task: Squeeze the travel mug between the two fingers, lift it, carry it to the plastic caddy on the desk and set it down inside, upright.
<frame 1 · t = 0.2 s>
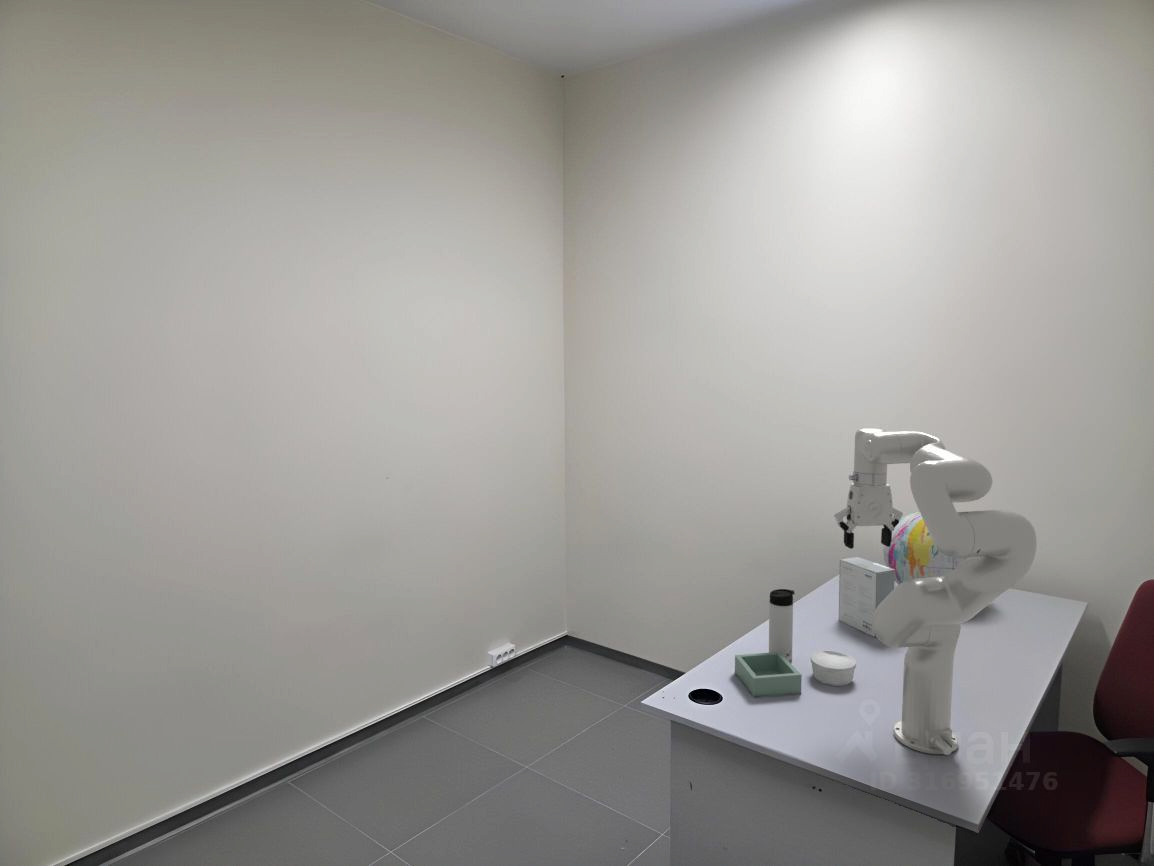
hand: (867, 546, 172), 37 cm above the table, tool pointing down, fingers open, 9 cm apart
travel mug: (780, 660, 192), on the table
ramekin: (832, 679, 181), on the table
hard drive box: (864, 627, 214), on the table
caddy: (766, 683, 179), on the table
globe: (929, 597, 238), on the table
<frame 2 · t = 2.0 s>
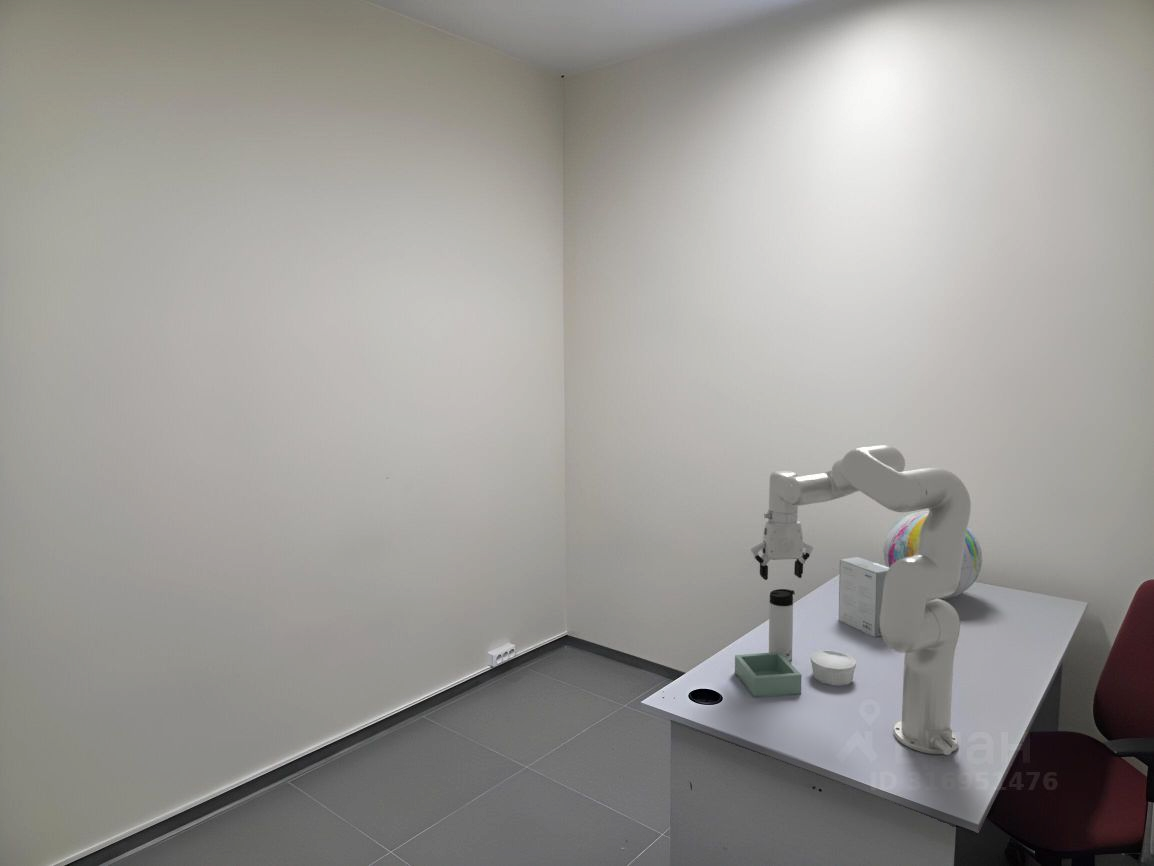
hand: (781, 577, 189), 24 cm above the table, tool pointing down, fingers open, 9 cm apart
nothing on the table moved.
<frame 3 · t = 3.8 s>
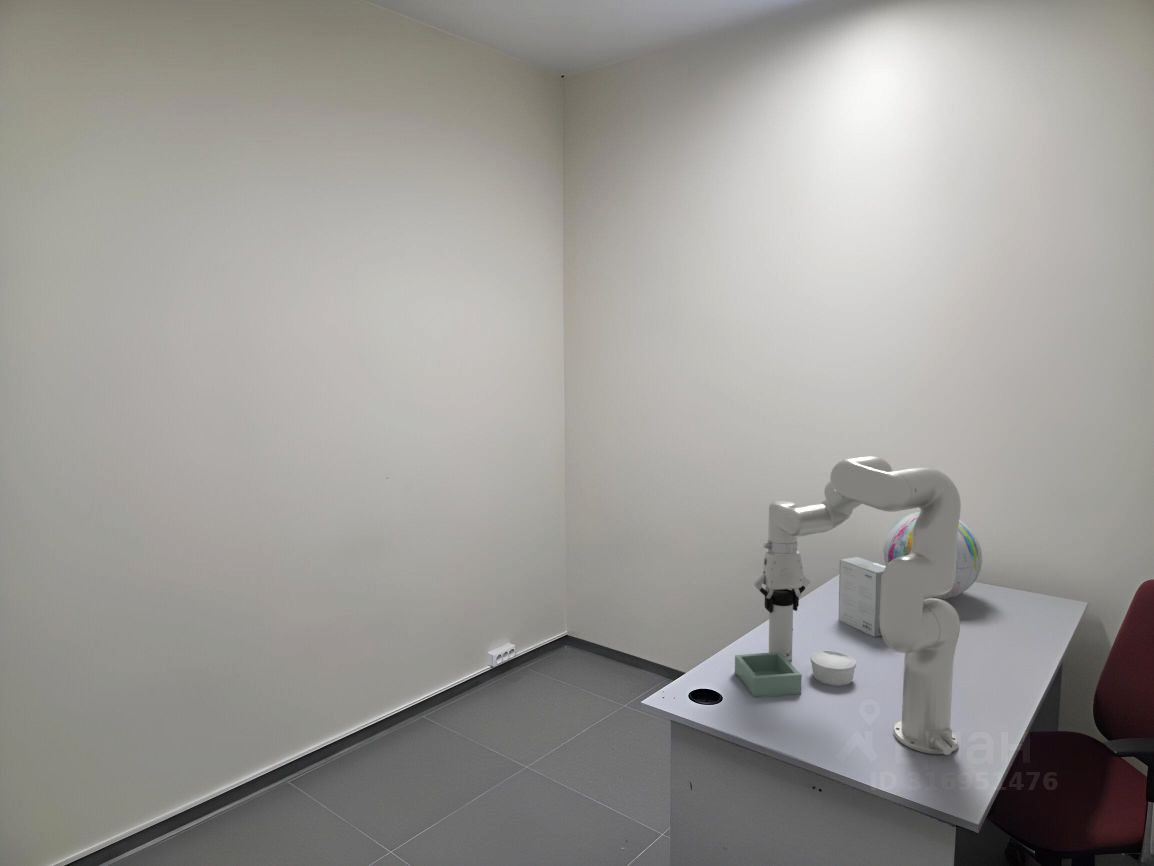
hand: (781, 609, 190), 15 cm above the table, tool pointing down, fingers closed on travel mug, 6 cm apart
travel mug: (780, 660, 192), on the table, touching gripper
everything else where it was.
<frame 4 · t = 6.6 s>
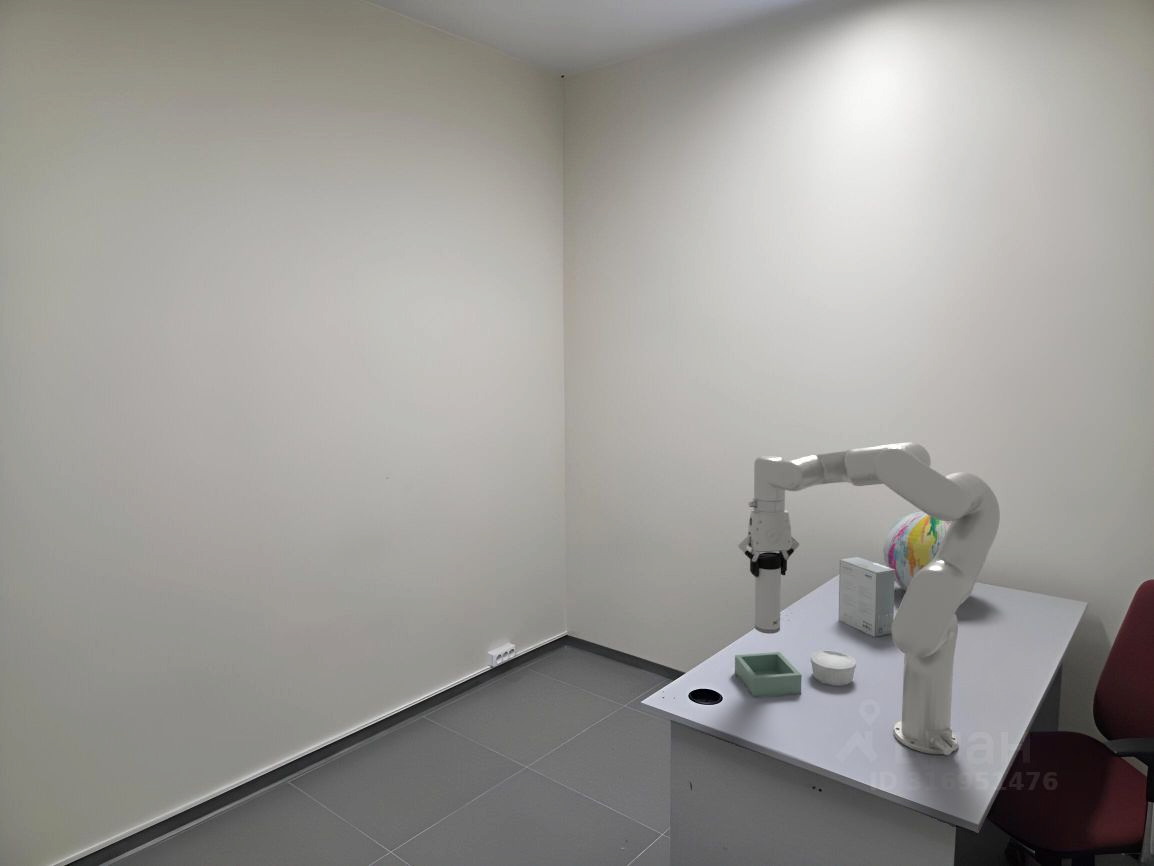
hand: (768, 573, 175), 29 cm above the table, tool pointing down, fingers closed on travel mug, 6 cm apart
travel mug: (768, 629, 177), point 14 cm above the table, touching gripper
everything else where it was.
when the fingers open (17 cm above the table, at t = 9.5 s): travel mug drops 2 cm, resting on caddy.
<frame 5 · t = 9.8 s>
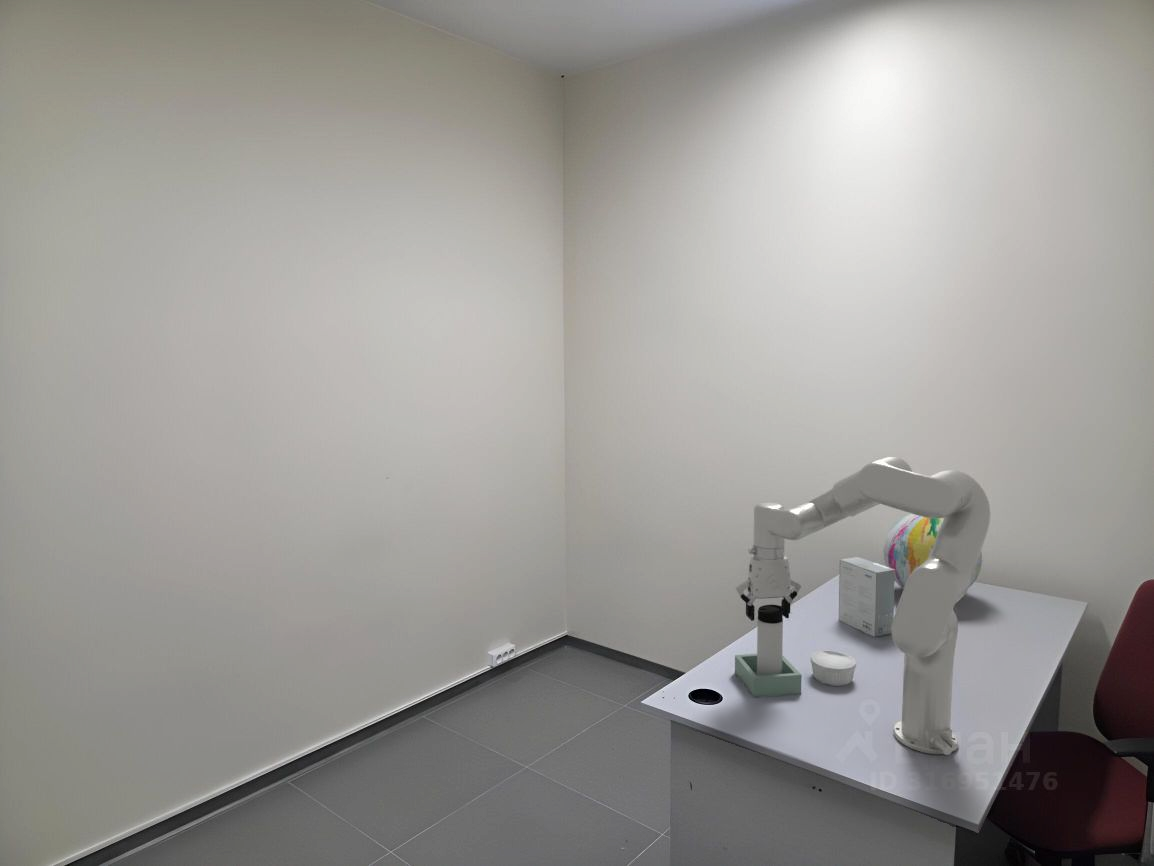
hand: (767, 617, 177), 18 cm above the table, tool pointing down, fingers open, 8 cm apart
travel mug: (769, 681, 179), resting on caddy
everything else where it was.
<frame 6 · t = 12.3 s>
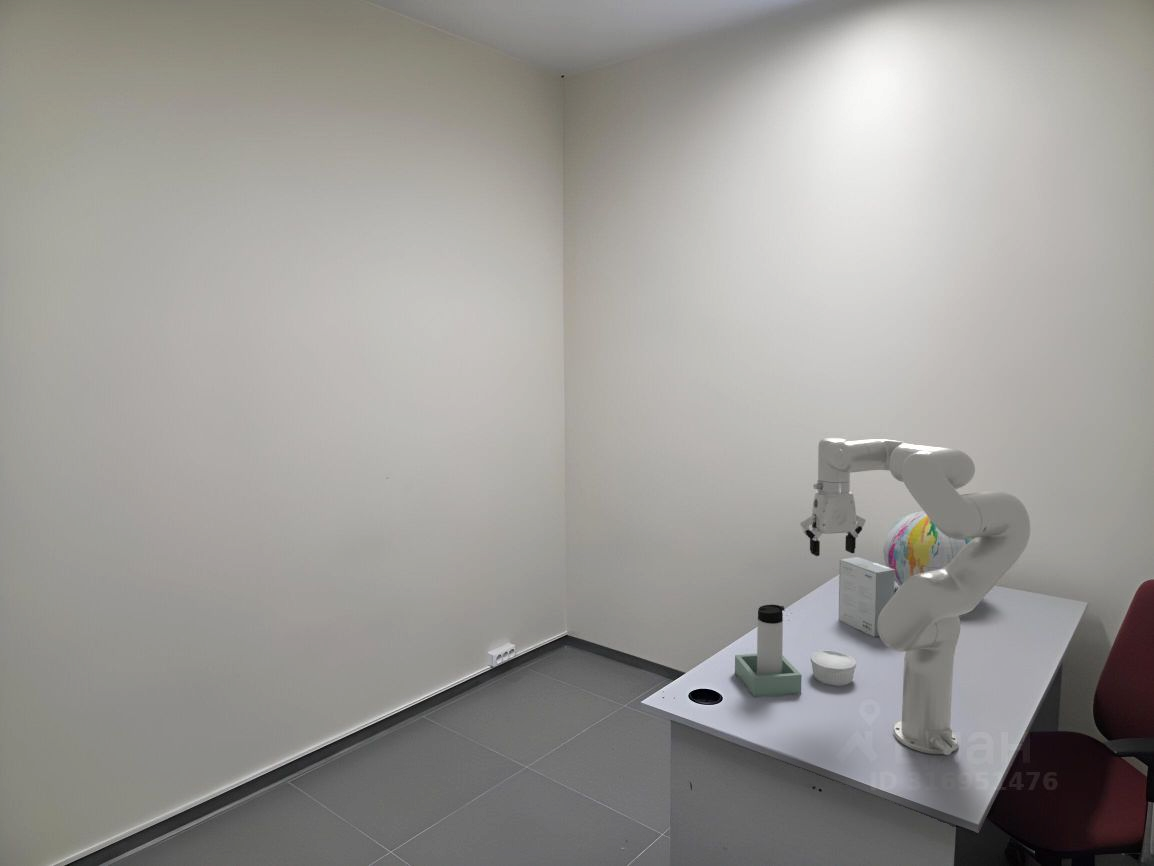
hand: (832, 553, 176), 34 cm above the table, tool pointing down, fingers open, 9 cm apart
nothing on the table moved.
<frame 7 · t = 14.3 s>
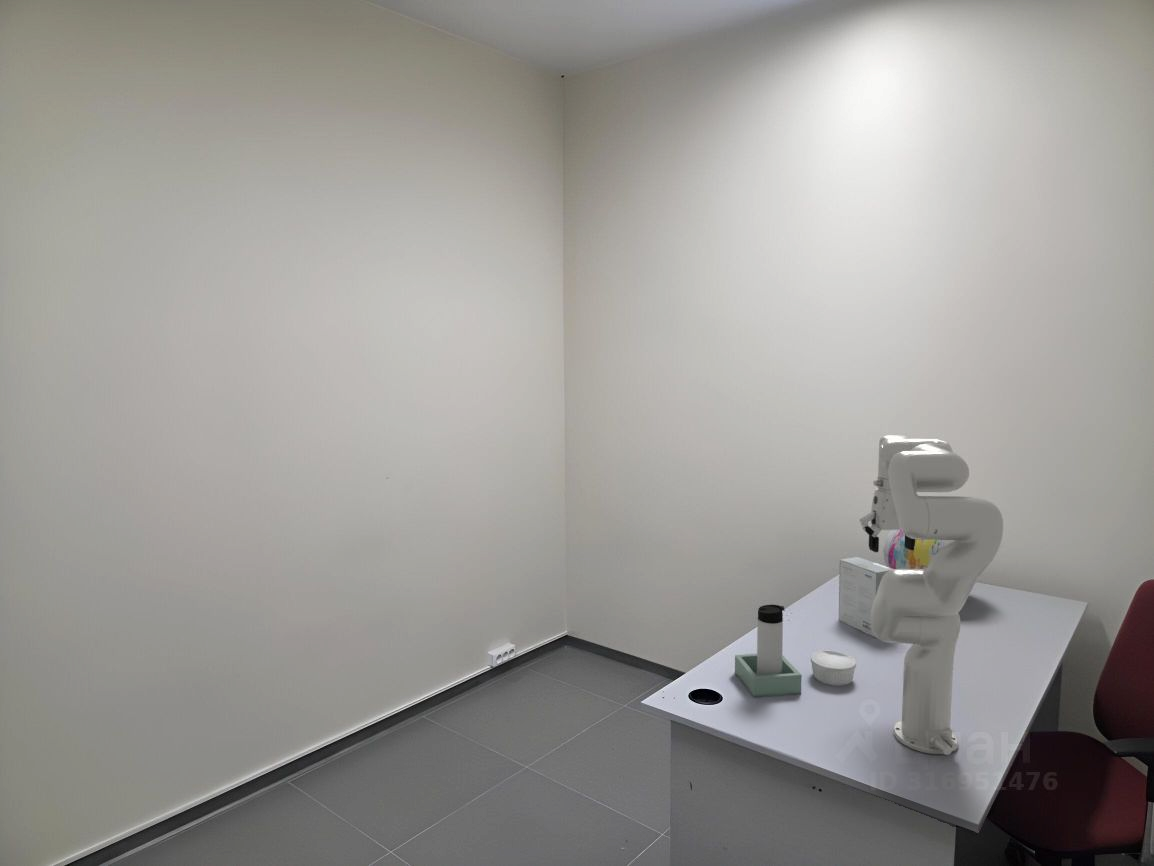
hand: (891, 549, 177), 34 cm above the table, tool pointing down, fingers open, 9 cm apart
nothing on the table moved.
at the end: travel mug inside the target area on the caddy (0.7 cm from its centre), point 0.4 cm above the caddy's base; travel mug tilted 0°; the gripper is holding nothing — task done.
